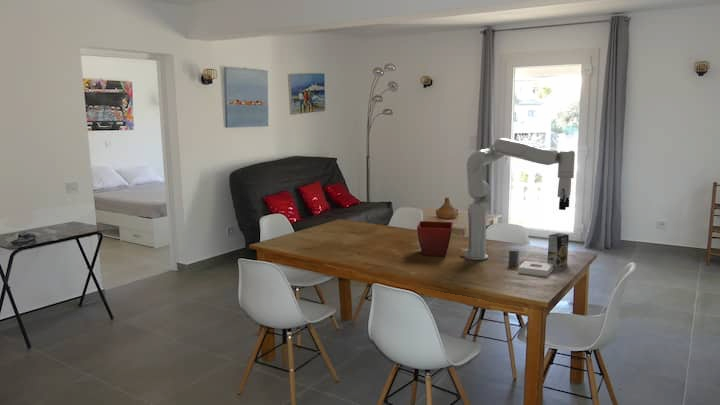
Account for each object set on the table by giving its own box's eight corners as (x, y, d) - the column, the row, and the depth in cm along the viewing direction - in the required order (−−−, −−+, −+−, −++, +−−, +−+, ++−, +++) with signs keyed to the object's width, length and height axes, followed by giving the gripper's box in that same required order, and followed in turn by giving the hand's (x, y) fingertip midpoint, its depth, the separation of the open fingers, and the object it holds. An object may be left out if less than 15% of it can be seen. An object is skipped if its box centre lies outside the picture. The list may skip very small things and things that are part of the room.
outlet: (518, 272, 278) (518, 267, 278) (524, 266, 290) (525, 260, 290) (547, 276, 271) (547, 270, 271) (552, 269, 283) (553, 264, 283)
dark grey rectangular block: (508, 265, 293) (509, 250, 291) (510, 263, 296) (511, 249, 295) (516, 266, 291) (516, 251, 289) (518, 264, 294) (518, 249, 293)
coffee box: (557, 267, 289) (559, 236, 286) (546, 264, 294) (548, 234, 291) (567, 264, 294) (569, 234, 291) (557, 262, 299) (558, 232, 297)
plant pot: (450, 258, 308) (451, 228, 306) (416, 256, 312) (416, 227, 309) (452, 250, 327) (452, 222, 324) (419, 248, 330) (420, 221, 328)
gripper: (561, 173, 289) (559, 205, 292) (554, 176, 274) (552, 210, 277) (576, 173, 286) (574, 206, 288) (570, 176, 271) (568, 211, 273)
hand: (564, 208), depth 283 cm, fingers open, 9 cm apart
